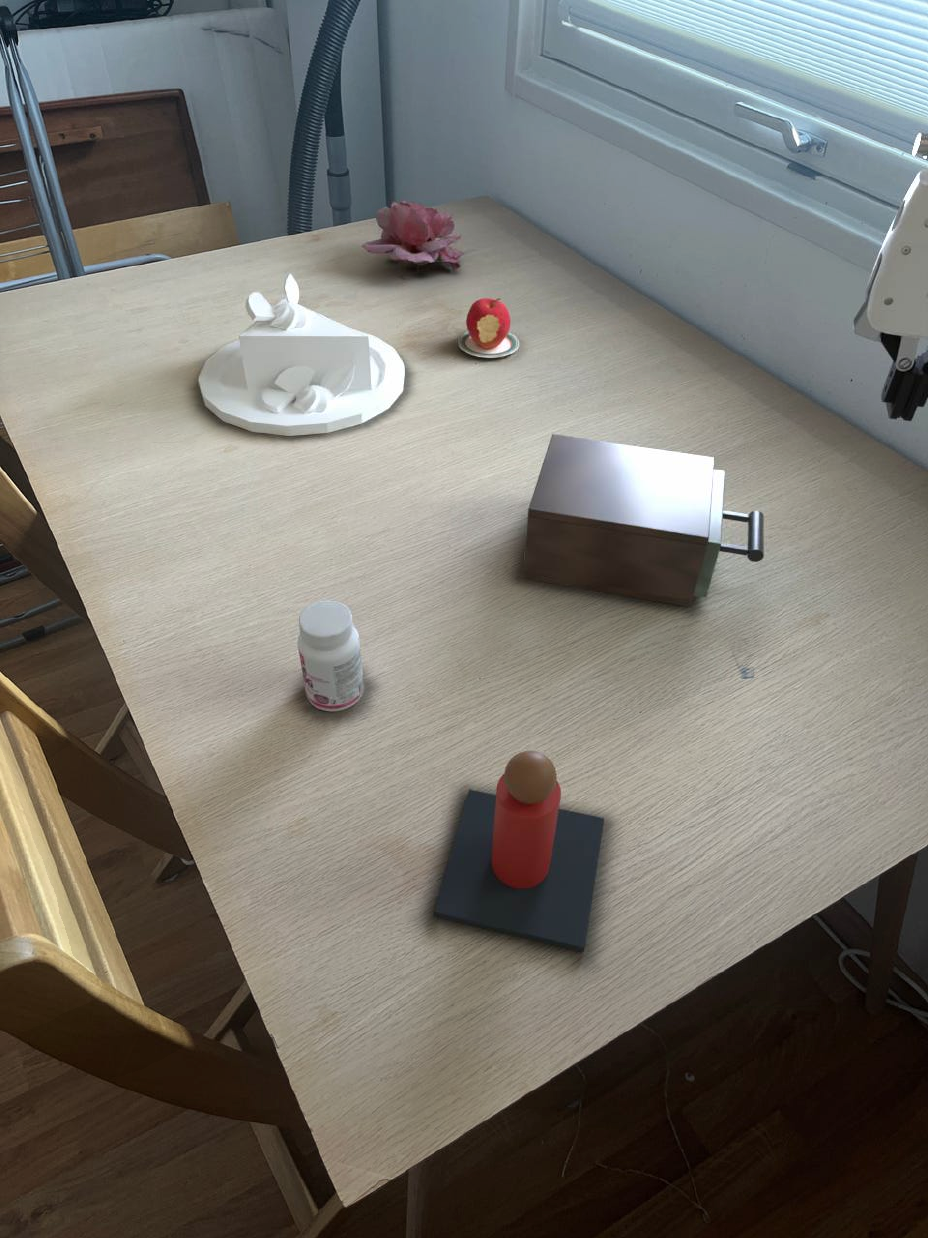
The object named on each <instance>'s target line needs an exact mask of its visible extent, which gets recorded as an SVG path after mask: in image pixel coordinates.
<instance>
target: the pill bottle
mask: <svg viewBox="0 0 928 1238" xmlns="http://www.w3.org/2000/svg"><path fill="white" fill-rule="evenodd" d="M298 626H299V635H298V637H297V650H298V656H299V661H300V667H301V672H302V679H303V683H304V691H305V695H306V698H307V700H308V701H309V703H310V704H311V705H312V706H313V707H315V708H317V709H318V710H321V711H324V712H325V711H326V712H339V711H343V710H344V711H345V710H346V709H348V708H350V707H352V706H354V705H355V704H356V703H358V702H359V700H361V698H362V696H363V693H364V689H365V681H364V673H363V670H364V669H363V661H362V651H361V641H360V636H359V635H360V634H359V632H358V630H357V628H356V627H355V625H354V624H353V615H352V612H351V610H350V609H349V608H348V606H346V605H345V604H344V603H342V602H339V601H336V600H319V601H316V602H313V603H311V604H309V605H308V606H306V607H305V608H304V609H303V610H302V611H301V613H300V615H299V619H298Z"/></svg>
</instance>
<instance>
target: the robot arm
mask: <svg viewBox="0 0 928 1238" xmlns="http://www.w3.org/2000/svg"><path fill="white" fill-rule="evenodd" d="M912 156H913V157H923V159H924V160H928V133H926V132H925V133H924V132H920V133H918V135H917V137H916V139H915V142H914V146H913V149H912ZM864 293H865V294H864V302H863V304H862V305H861V306H860V308H859V311H858V312H857V313H856V315H855V317H854V318H853V320H852V327H853V328H852V329H853V332H854V334H855V335H857V336H859V337H862V338H865V339H868V340H869V341H873V342H878V343H881V345H882V346H883V348H884V349H885V351H886V352H887V353H888V355H889V357H890V358H891V360H892V364H891V365H890V369H889V372H888V373H887V376H886V379H885V382H884V384H883V387H882V390H881V395H880V399H881V403H884V404H885V406H886V410H887V416H888V419H890V420H898V419H900V418H901V419H902V421H905V422H912V420H913V419H914V417H915V414H916V411H917V410H918V408H924V407H925V405H926V403H927V401H928V345H927V346H926V347H925V350H924V352H922V353H921V354H920V355H916V354H917V351H918V347H919V341H920V339H924V340H925V339H927V340H928V168H923V169H921V170H920V171H919V172H918V174H917V175H916V177H915V178H914V180H913V182H912V184H911V186H910V187H909V189H908V191H907V193H906V195H905V196H904V198H903V201H902V202H901V204H900V207H899V208H898V210H897V213H896V214H895V216H894V219H893V221H892V224H891V226H890V228H889V230H888V232H887V234H886V237H885V239H884V241H883V243H882V245H881V248H880V250H879V252H878V255H877V258H876V260H875V263H874V265H873V268H872V270H871V273H870V276H869V279H868V281H867V285H866V289H865V292H864Z"/></svg>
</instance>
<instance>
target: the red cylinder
mask: <svg viewBox="0 0 928 1238" xmlns="http://www.w3.org/2000/svg"><path fill="white" fill-rule="evenodd" d="M556 770H557V769H556V767H555V765H554V763H553V761H552V760H551V759H550V758H549V757H548V756H547V755H546V754H544V753H542V752H540V751H538V750H523V751H521V752H518V753H517V754H515V755H514V756H512V758H510V759H509V761H508V762H507V764H506V765H505V768H504V772H503V774H502V775H501V776H500V778H499V779H498V781H497V784H496V791H495V795H496V804H495V817H494V831H493V845H492V860H491V863H492V868H493V871H494V873H495V875H496V876H497V877H498V878H499V879H500V880H501V881H502V882H503V883H504V884H506V885H508V886H510V887H513V888H518V889H526V888H531V887H534V886H536V885H538V884H539V883H540V882H542V881H543V880H544V879H545V877H546V876H547V874H548V871H549V867H550V861H551V854H552V848H553V842H554V836H555V829H556V823H557V817H558V811H559V809H560V805H561V797H562V790H561V786H560V783H559V782H558V780H557V779H558V776H557V771H556Z"/></svg>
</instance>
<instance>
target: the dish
mask: <svg viewBox="0 0 928 1238" xmlns="http://www.w3.org/2000/svg"><path fill="white" fill-rule="evenodd" d="M283 284H284V285H283V290H284V295H285V297H283V298H282V299H281V300H279V302H277V303H276V304H275V305H274V306H271V305H270V303H269V302H268V301H267V299H266V298H265V297H264V296H263V295H262V293H261V292H260V291H256V292H251V294H250V295H249V296H248V297H247V298H246V299H245V309H246V312H247V314H248V316H249V317H250V319H251V320H252V321H253V323H252V324H251V325H250V326H248V327H247V328H246V329H245V330H244V331H242V332H241V333H240V334H239V335H238V339H236V340H234V341H232V342H230V343H228V344H225V345H223V346H222V347H221V348H220V349H219V350H218V351H216V352H215V353H214V354H212V355H211V356H210V357H209V358H208V359H206V360H205V362H204V365H203V366H202V368H201V371H200V373H199V376H198V377H197V380H198V385H199V389H200V393H201V395H202V400H203V403H204V406H205V407H206V408H207V409H208V410H209V411H210V412H212V413H213V414H214V415H215V416H216V417H218V418H219V419H220V420H221V421H222V422H224V423H227V424H229V425H232V426H235V427H238V428H241V429H244V430H246V431H249V432H252V433H258V434H268V435H275V436H276V435H277V436H287V437H294V436H295V437H296V436H307V435H319V434H329V433H333V432H336V431H340V430H343V429H347V428H351V427H355V426H358V425H362V424H364V423H365V422H367V421H369V420H371V419H373V418H374V417H376V416H378V415H380V414H382V413H383V412H385V411H387V410H389V409H390V407H392V405H393V404H394V403H395V401H397V399H398V398H399V396H400V395H401V394H402V393H403V392H404V384H405V375H406V373H405V372H406V371H405V363H404V361H403V359H402V357H400V355H399V353H398V352H397V350H396V348H394V347H393V346H391V345H390V344H388V343H386V342H385V341H384V340H382V339H380V338H379V337H377V336H375V335H373V334H369V333H366V332H362V331H360V330H356V329H353V328H351V327H349V326H347V325H344V324H343V323H340V322H338V321H335V320H334V319H332V318H329V317H327V316H325V315H323V314H320V313H319V312H316V311H314V310H312V309H309V308H308V307H305V306H303V305H301V304H299V303H298V302H299V299H300V289H299V285H298V283H297V282H296V279H295V278H294V277H293V275H292V274H291V273H288V274H287V276H286V278H285V280H284V283H283Z"/></svg>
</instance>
